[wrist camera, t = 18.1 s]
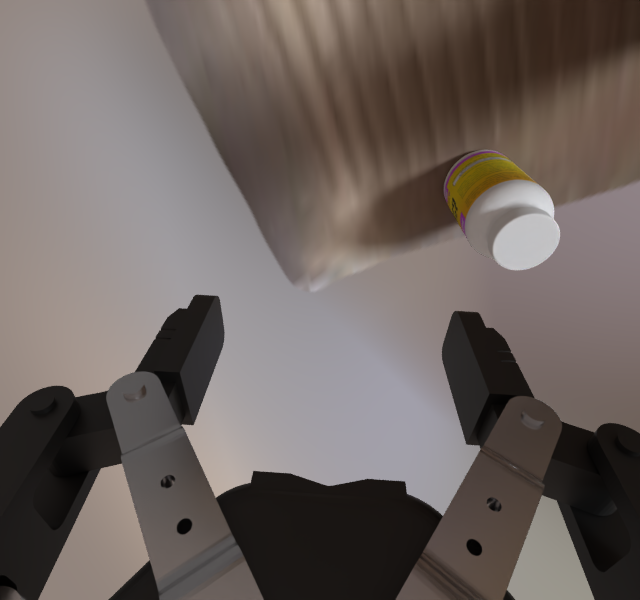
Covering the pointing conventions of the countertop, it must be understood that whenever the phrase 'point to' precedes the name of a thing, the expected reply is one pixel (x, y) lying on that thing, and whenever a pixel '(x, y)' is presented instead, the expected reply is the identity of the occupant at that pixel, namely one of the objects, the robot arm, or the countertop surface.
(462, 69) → the countertop surface
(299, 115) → the countertop surface
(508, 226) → the supplement bottle
